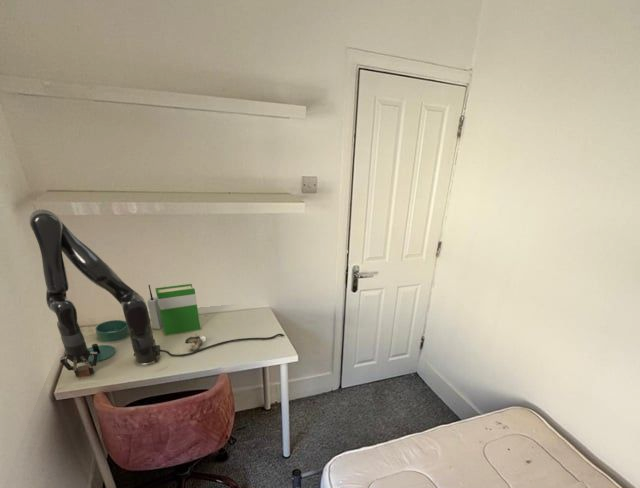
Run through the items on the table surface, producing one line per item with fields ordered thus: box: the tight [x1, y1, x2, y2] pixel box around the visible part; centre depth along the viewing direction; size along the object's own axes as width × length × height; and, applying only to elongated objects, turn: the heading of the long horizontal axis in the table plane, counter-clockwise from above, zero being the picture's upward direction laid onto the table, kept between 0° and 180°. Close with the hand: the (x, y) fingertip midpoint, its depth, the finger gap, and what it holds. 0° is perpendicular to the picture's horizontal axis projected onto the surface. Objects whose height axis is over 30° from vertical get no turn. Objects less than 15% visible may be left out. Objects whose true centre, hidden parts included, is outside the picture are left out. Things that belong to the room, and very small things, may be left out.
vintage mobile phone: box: [146, 284, 163, 330], centre depth 206 cm, size 4×5×25 cm
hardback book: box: [154, 283, 201, 336], centre depth 207 cm, size 18×7×24 cm, turn 122°
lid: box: [87, 343, 116, 363], centre depth 184 cm, size 15×15×6 cm
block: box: [77, 364, 92, 379], centre depth 170 cm, size 4×4×4 cm
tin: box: [95, 319, 130, 343], centre depth 200 cm, size 14×14×6 cm
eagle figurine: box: [184, 333, 207, 352], centre depth 197 cm, size 8×7×9 cm
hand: (85, 374), depth 171 cm, fingers closed on block, 4 cm apart
